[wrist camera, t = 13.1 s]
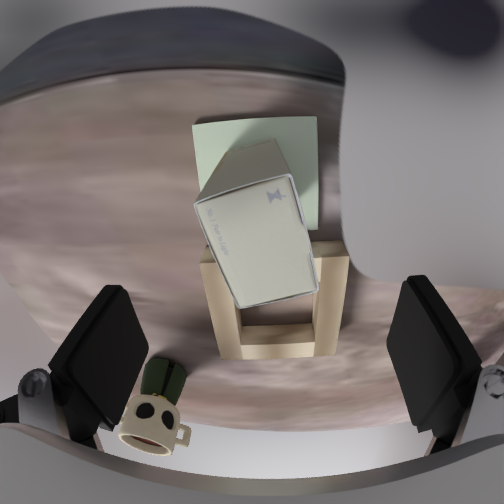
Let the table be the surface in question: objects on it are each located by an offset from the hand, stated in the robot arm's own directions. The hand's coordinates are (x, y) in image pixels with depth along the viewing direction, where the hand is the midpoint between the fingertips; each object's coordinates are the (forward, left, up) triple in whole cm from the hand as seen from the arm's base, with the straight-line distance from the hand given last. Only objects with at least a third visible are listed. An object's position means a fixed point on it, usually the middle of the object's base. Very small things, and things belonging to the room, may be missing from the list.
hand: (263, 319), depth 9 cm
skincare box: (0, 0, -16) cm, 16 cm away
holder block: (-1, +12, -17) cm, 21 cm away
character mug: (+15, +25, -17) cm, 34 cm away
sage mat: (0, -1, -17) cm, 17 cm away
